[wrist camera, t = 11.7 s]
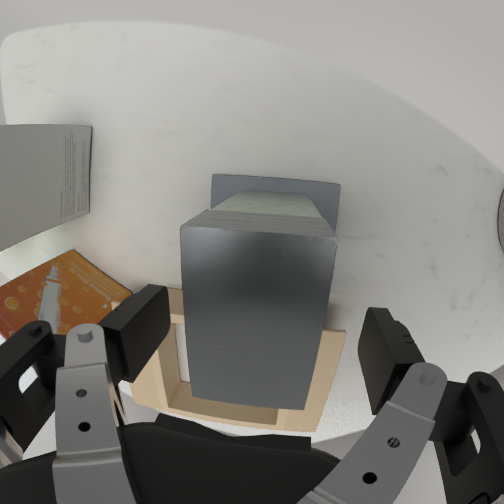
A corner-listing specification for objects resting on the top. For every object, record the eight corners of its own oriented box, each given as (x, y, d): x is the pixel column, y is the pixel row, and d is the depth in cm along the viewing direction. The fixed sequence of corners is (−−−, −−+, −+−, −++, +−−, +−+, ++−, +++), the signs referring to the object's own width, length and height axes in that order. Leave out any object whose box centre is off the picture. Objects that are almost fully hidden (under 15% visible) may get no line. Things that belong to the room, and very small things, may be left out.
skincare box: (50, 130, 21) (-83, 140, 6) (97, 124, 20) (-61, 122, 5) (47, 212, 23) (-76, 261, 8) (93, 217, 23) (-52, 282, 8)
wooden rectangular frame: (338, 305, 22) (346, 332, 19) (313, 403, 26) (315, 432, 22) (133, 282, 24) (111, 302, 20) (149, 378, 28) (135, 402, 24)
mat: (338, 184, 19) (340, 184, 19) (322, 297, 22) (324, 302, 22) (214, 174, 20) (212, 174, 20) (212, 286, 23) (209, 291, 22)
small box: (134, 291, 24) (44, 379, 12) (117, 335, 26) (46, 419, 14) (72, 246, 24) (-29, 300, 12) (62, 292, 26) (-19, 353, 14)
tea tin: (308, 193, 19) (337, 238, 8) (298, 288, 21) (304, 410, 10) (242, 189, 20) (180, 226, 8) (238, 282, 22) (192, 396, 11)
